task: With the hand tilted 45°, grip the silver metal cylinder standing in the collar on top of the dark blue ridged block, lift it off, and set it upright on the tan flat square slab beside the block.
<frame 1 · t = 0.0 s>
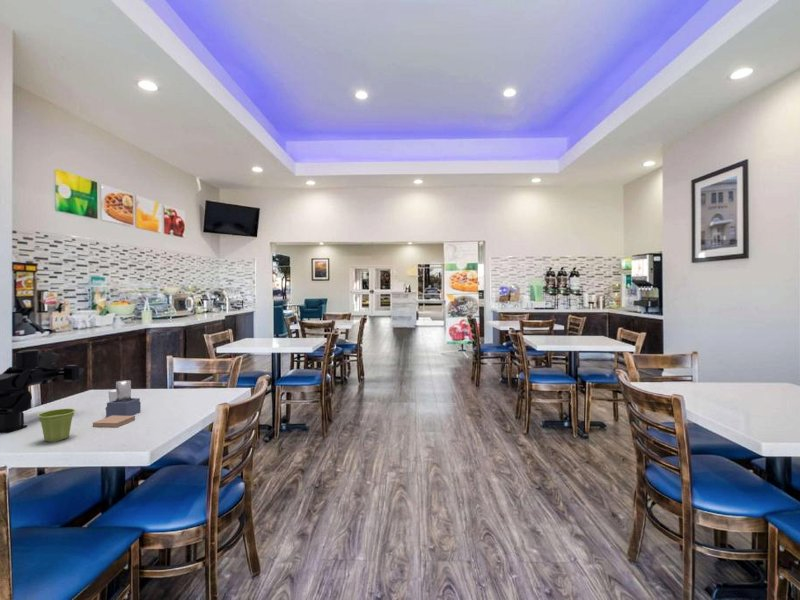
hand: (72, 369, 167), 17 cm above the table, tool horizontal, fingers open, 9 cm apart
plant pot: (56, 439, 132), on the table
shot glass: (118, 407, 172), on the table
dark blue ridged block: (123, 414, 160), on the table
silver metal cylinder: (123, 404, 160), point 4 cm above the table, touching dark blue ridged block
tan flat square slab: (114, 423, 149), on the table
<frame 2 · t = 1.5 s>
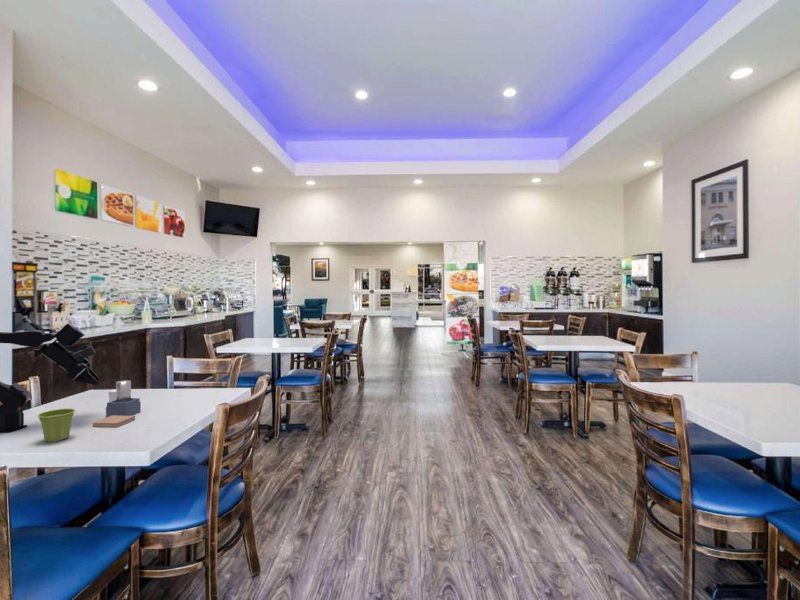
hand: (98, 382, 156), 14 cm above the table, tool tilted 45°, fingers open, 9 cm apart
nothing on the table moved.
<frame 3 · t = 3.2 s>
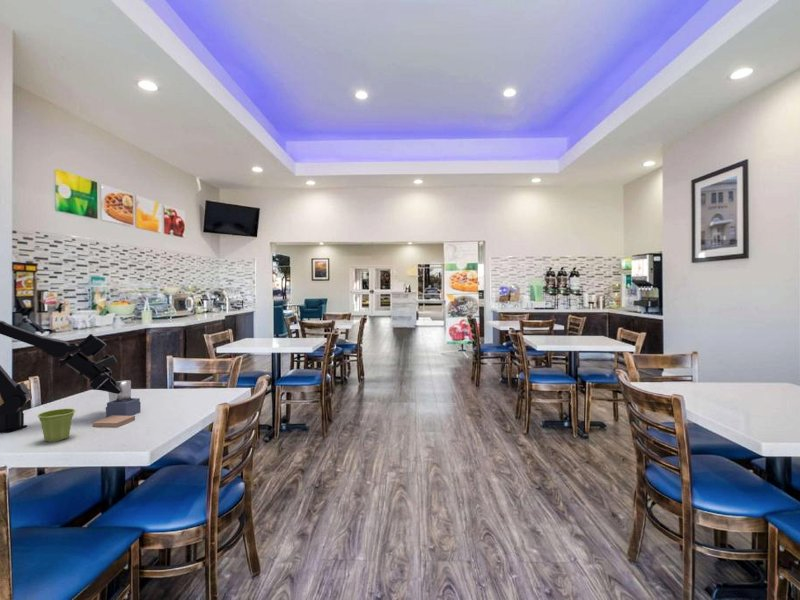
hand: (119, 390, 159), 10 cm above the table, tool tilted 45°, fingers open, 9 cm apart
nothing on the table moved.
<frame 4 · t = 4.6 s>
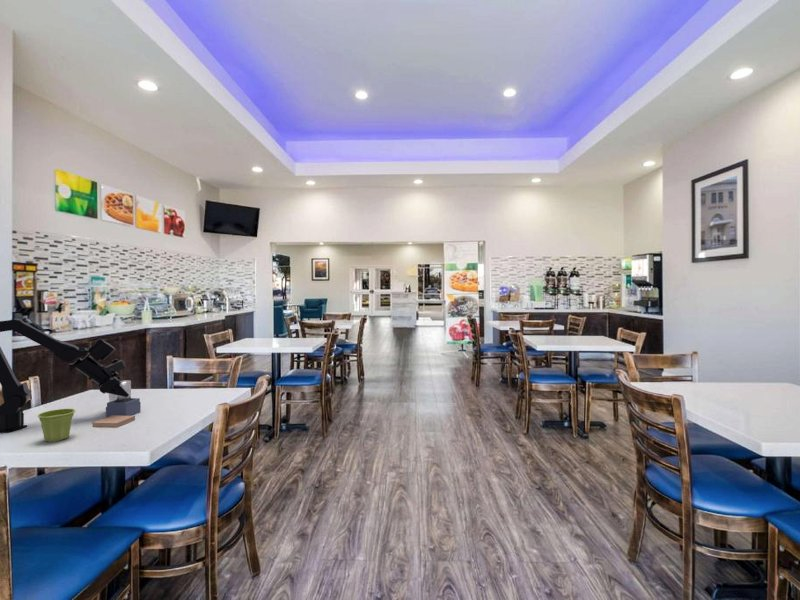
hand: (127, 394, 161), 8 cm above the table, tool tilted 45°, fingers closed on silver metal cylinder, 5 cm apart
silver metal cylinder: (123, 404, 160), point 4 cm above the table, touching gripper, dark blue ridged block
everything else where it was.
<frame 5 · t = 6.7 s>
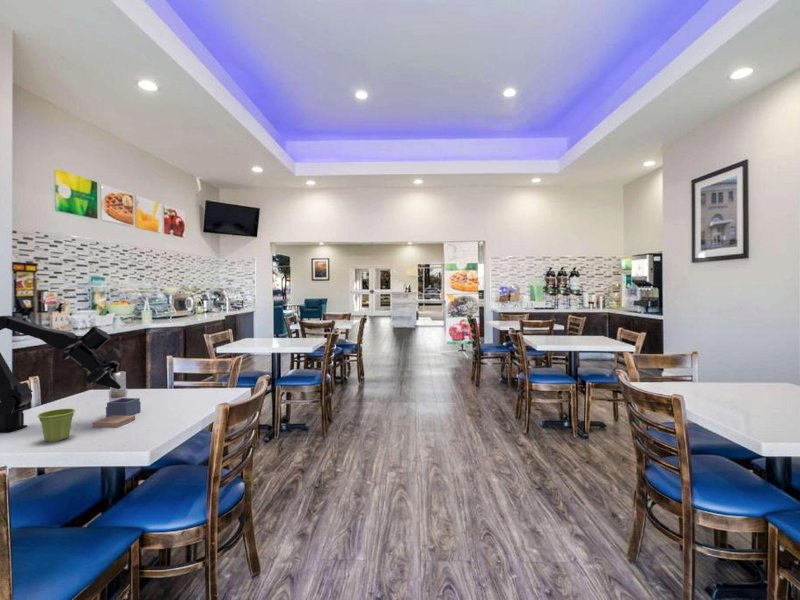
hand: (122, 386, 152), 13 cm above the table, tool tilted 45°, fingers closed on silver metal cylinder, 5 cm apart
silver metal cylinder: (117, 396, 152), point 9 cm above the table, touching gripper
everything else where it was.
when the fingers open (6 cm above the table, at t = 8.8 s): silver metal cylinder drops 1 cm, resting on tan flat square slab.
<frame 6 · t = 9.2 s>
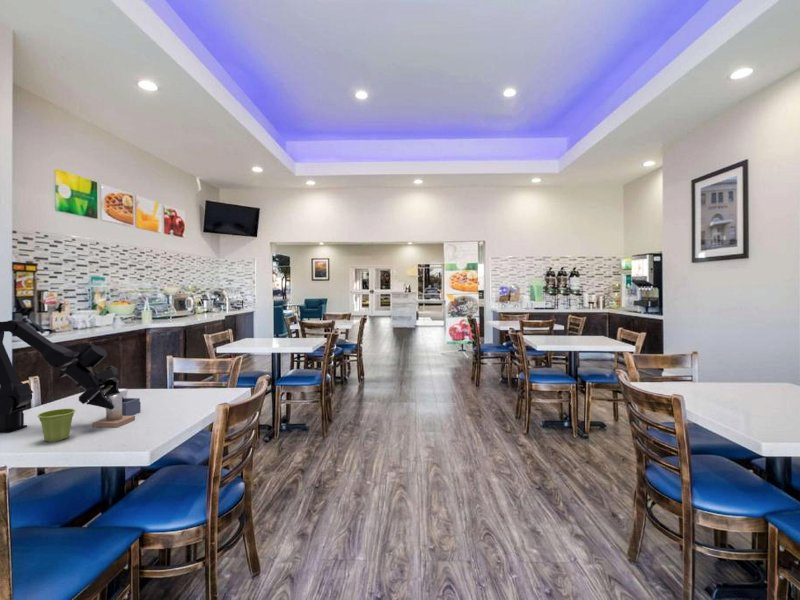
hand: (118, 405, 149), 7 cm above the table, tool tilted 45°, fingers open, 9 cm apart
silver metal cylinder: (114, 419, 149), point 1 cm above the table, touching tan flat square slab
everything else where it was.
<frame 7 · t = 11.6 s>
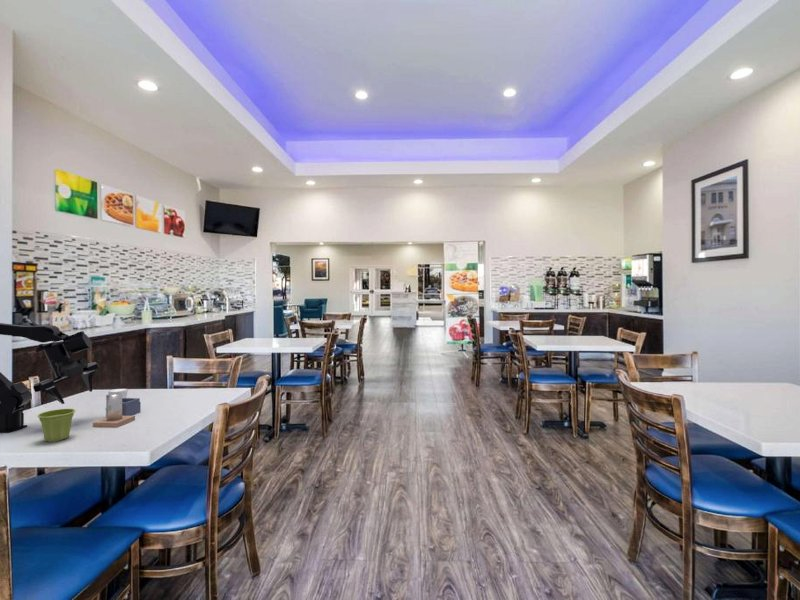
hand: (77, 397, 149), 9 cm above the table, tool tilted 20°, fingers open, 9 cm apart
nothing on the table moved.
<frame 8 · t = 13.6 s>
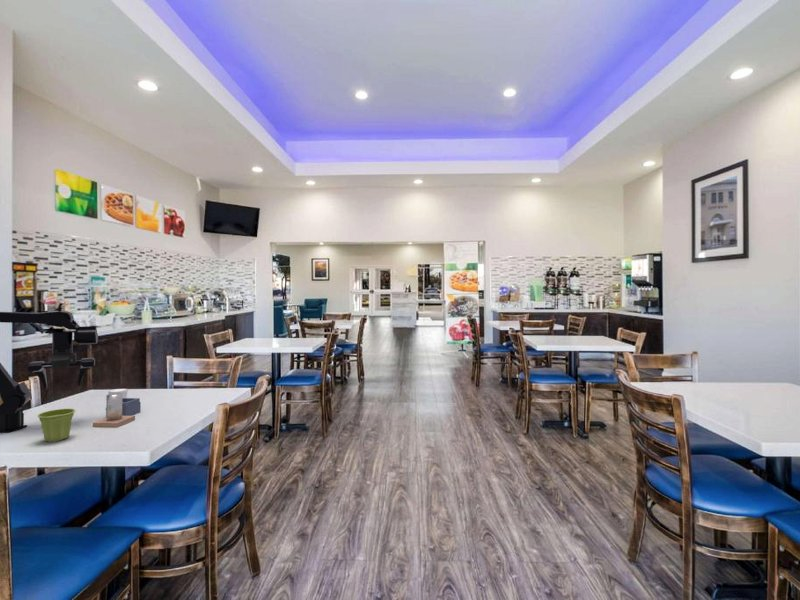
hand: (62, 387, 149), 13 cm above the table, tool pointing down, fingers open, 9 cm apart
nothing on the table moved.
at the end: silver metal cylinder touching tan flat square slab; silver metal cylinder 0.0 cm off-centre on the tan flat square slab, point 1.5 cm above the tan flat square slab's base; silver metal cylinder tilted 1° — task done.
